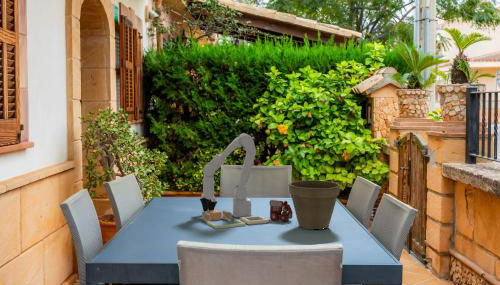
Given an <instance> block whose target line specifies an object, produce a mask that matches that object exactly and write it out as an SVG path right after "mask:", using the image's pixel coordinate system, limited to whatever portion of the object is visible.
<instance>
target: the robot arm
mask: <svg viewBox="0 0 500 285" xmlns="http://www.w3.org/2000/svg"><path fill="white" fill-rule="evenodd" d="M242 147H243V149H244V150H245V151H246V154H245V158H244V160H243V165H242V168H241V170H240V174H239V177H238V178H239V179H238V181H237V183H236V185H235V186H234V188H233V190H232V192H233V195H234V196H233V198H232V212H231V213H232V217H234V218H240V217H252V202H251V199H250V198H248V197H247V196H248V192H247V190H248V182H249V179H250V175H251V171H252V168H253V164H254V161H255V158H256V154H257V148H256V146H255V142H254V139H253V138H252V137H251V135H249V134H247V133H245V132H243V133H240V134H239V135H238V136H237V137H235V138H234V140H233V141H231V142H230V144H229V145H228V146H227V147H226V148H225V149H224V150H223V151H222V152H221V153H217V154H216V155H213V158H212V159H211V160H210V162H209V161H208V162H207V163H206V165H205V166H204V167H203V169H202V173H203V180H202V181H203V182H202V188H203V189H202V193H201V195H200V198H199V201H200V203H201V205H202V212H206V211H208V210H215V208H216V205H217V204H218V201H217V199H216V197H215V179H214V178H215V177H214V176H215V173H216V171H218V170H219V168H220V167H221V166H222V165H224V163H225V162H226V158H227V157H228V156H229V155H230V154H231V153H232V152H233V151H234V150H236V149H237V148H242Z"/></svg>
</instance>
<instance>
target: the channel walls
mask: <svg viewBox="0 0 500 285" xmlns="http://www.w3.org/2000/svg"><path fill="white" fill-rule="evenodd" d="M221 212H222V219H224V220H226V221H228V222H230V221H232V217H233V216H232V213H233V212H230V211H227V210H225V209H224V210H223V209H222V211H221ZM201 221H204V222H205V223H207V222H208V221H209V222H211V223H212V220H211V215H210V214H208V213H206V212H204V211H201Z"/></svg>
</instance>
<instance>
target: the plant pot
mask: <svg viewBox="0 0 500 285" xmlns="http://www.w3.org/2000/svg"><path fill="white" fill-rule="evenodd" d="M288 189H289V191H288V192H289V194H290V196H291V200H292V204H293V207H294V208H293V209H294V212H295V216H296V219H297V223H298V227H299V226H300V227H299V228H301V227H302V228H301V229H303V228H306V229H305V230H308V229H323V228H327V227H328V228H329V226H330V223H331V220H332V216H333V213H334V211H335V210H334V209H335V206H336V202H337V199H338V196H339V195H340V192H341V191H340V189H341V185H340V184H339V183H337V182H334V181H328V180H320V179H319V180H316V179H314V180H313V179H310V180H308V179H307V180H304V179H303V180H296V181H292V182H289V183H288ZM328 228H327V229H328Z"/></svg>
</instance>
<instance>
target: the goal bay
mask: <svg viewBox="0 0 500 285" xmlns="http://www.w3.org/2000/svg"><path fill="white" fill-rule="evenodd" d="M233 222H234V223H230V224H229V223H228V224H220V225H217V224H215V223H213V222H212V221H211V222H209V221H208V222H206V225H208V226H210V227H211V228H214V229H216V230H217V229H225V228H227V229H228V228H235V227H236V228H237V227H245V226H246V225H247V224H246V223H244V222H241V221H240V219H237V218H234V219H233Z"/></svg>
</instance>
